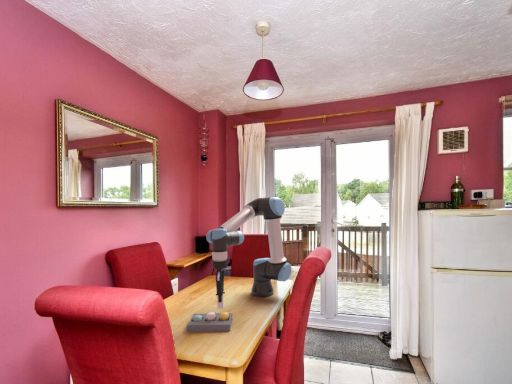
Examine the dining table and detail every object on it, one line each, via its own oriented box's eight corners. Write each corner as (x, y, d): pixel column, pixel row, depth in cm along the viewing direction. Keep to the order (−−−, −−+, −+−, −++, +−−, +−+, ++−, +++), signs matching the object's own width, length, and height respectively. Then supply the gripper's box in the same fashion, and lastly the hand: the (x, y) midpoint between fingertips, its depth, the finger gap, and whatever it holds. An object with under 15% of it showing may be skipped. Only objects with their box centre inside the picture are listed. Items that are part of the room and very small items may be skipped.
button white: (216, 317, 134) (215, 311, 134) (214, 321, 129) (214, 315, 129) (207, 317, 134) (207, 312, 134) (205, 321, 129) (205, 315, 129)
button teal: (203, 320, 133) (203, 314, 134) (201, 324, 129) (201, 318, 129) (194, 320, 133) (194, 314, 134) (192, 324, 129) (192, 318, 129)
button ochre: (229, 317, 134) (228, 311, 134) (228, 320, 129) (228, 314, 129) (220, 317, 134) (220, 311, 134) (219, 321, 129) (219, 315, 129)
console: (232, 318, 138) (232, 312, 138) (230, 331, 124) (229, 324, 125) (193, 319, 138) (193, 313, 138) (187, 332, 124) (187, 325, 124)
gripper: (214, 257, 140) (215, 303, 139) (210, 262, 127) (210, 313, 126) (228, 257, 140) (229, 303, 139) (225, 262, 127) (226, 313, 126)
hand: (220, 308), depth 132 cm, fingers closed
